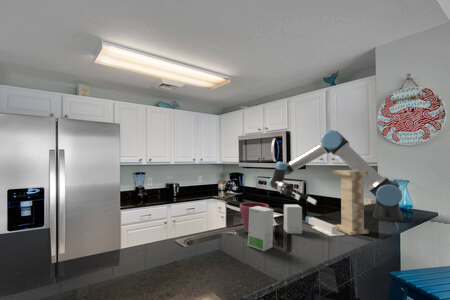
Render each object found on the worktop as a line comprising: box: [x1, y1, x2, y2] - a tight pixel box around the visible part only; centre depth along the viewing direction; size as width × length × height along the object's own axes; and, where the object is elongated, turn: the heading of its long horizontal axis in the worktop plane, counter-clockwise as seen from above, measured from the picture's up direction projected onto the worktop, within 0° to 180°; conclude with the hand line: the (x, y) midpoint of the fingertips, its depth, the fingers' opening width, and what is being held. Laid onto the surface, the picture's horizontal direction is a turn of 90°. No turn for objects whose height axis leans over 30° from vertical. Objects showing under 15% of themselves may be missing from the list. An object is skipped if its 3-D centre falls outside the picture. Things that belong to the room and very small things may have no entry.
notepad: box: [311, 225, 346, 237], centre depth 119 cm, size 8×15×1 cm, turn 16°
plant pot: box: [239, 201, 270, 233], centre depth 120 cm, size 14×14×13 cm
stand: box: [331, 169, 370, 236], centre depth 121 cm, size 11×12×30 cm
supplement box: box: [283, 204, 303, 235], centre depth 119 cm, size 7×7×13 cm
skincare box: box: [247, 206, 275, 252], centre depth 98 cm, size 8×7×16 cm
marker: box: [305, 215, 338, 234], centre depth 125 cm, size 3×21×3 cm, turn 16°
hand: (307, 200), depth 141 cm, fingers open, 13 cm apart
